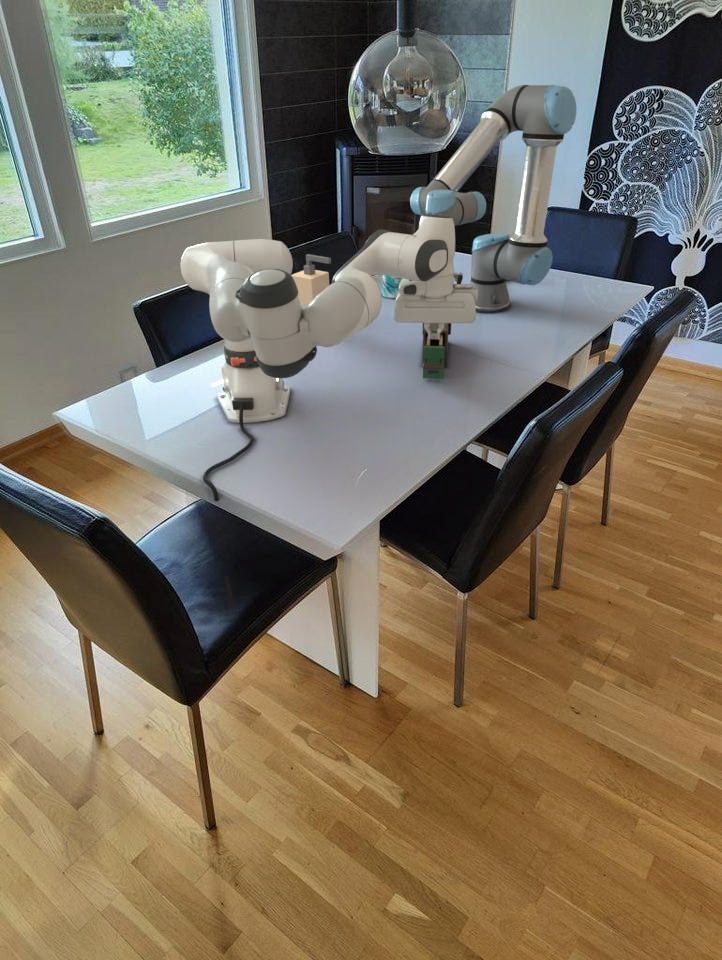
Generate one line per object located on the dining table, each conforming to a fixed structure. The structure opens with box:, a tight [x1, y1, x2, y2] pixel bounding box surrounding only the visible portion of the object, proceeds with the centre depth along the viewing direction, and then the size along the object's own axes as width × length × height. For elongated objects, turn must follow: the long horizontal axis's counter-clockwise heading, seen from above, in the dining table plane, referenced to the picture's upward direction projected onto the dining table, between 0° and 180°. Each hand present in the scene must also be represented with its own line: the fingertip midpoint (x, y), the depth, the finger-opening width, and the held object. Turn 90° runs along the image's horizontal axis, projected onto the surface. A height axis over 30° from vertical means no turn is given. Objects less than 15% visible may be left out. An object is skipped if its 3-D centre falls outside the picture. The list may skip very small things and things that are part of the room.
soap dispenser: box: [291, 253, 332, 306], centre depth 211 cm, size 13×9×22 cm
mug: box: [382, 275, 403, 299], centre depth 238 cm, size 8×12×8 cm
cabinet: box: [422, 323, 449, 368], centre depth 191 cm, size 19×7×10 cm, turn 173°
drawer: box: [422, 333, 445, 380], centre depth 180 cm, size 23×6×9 cm, turn 173°
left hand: (433, 338), depth 169 cm, fingers closed
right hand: (436, 332), depth 195 cm, fingers closed on cabinet, 7 cm apart
